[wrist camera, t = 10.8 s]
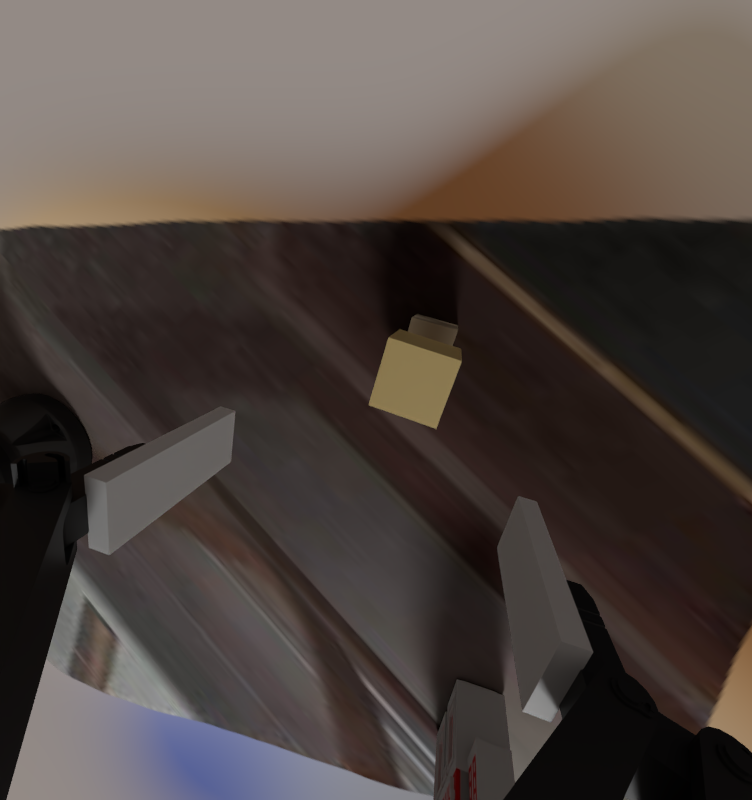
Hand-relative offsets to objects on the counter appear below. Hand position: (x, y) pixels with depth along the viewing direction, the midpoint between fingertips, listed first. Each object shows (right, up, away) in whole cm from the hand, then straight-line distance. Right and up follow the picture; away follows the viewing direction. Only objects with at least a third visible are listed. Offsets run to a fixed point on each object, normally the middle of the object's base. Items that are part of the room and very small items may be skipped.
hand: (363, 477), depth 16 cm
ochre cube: (+5, +6, +19) cm, 20 cm away
